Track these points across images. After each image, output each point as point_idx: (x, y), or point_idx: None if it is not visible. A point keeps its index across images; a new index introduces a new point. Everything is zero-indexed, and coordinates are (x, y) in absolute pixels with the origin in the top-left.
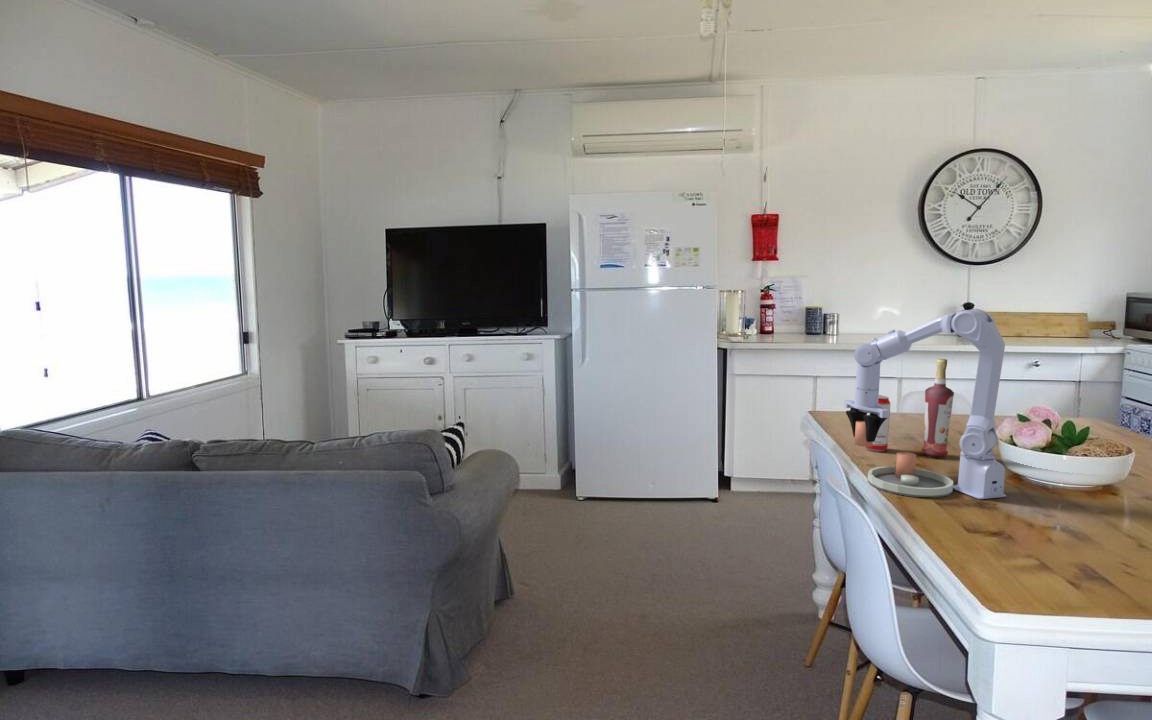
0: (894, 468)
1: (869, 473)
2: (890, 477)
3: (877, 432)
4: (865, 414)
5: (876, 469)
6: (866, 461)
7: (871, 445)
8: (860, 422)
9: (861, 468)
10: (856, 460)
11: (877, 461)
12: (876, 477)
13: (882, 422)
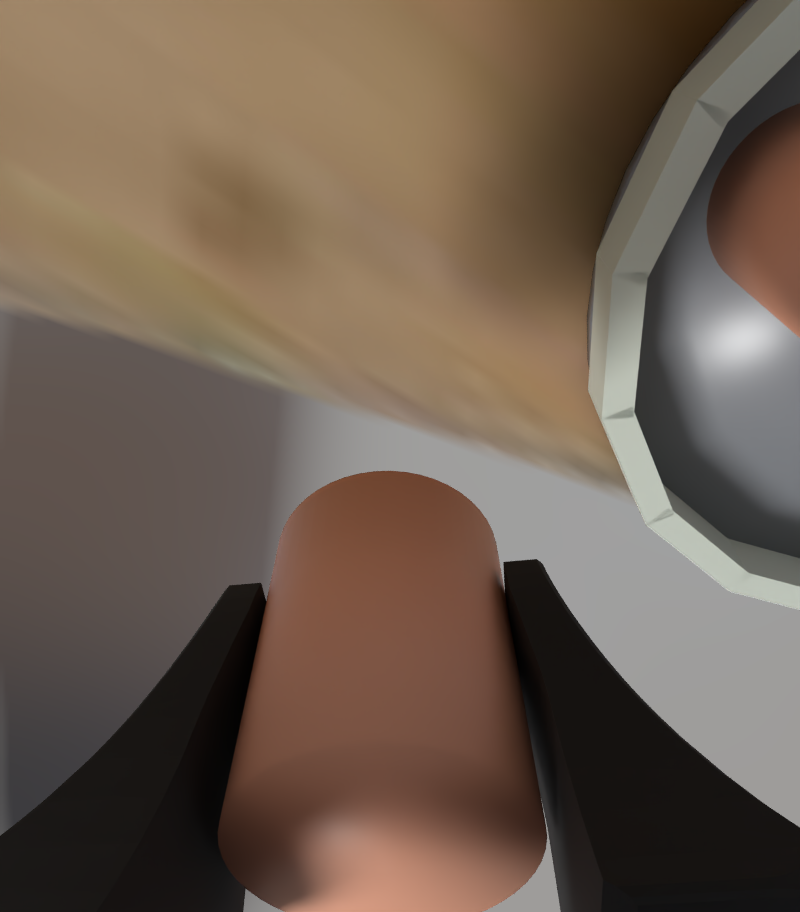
0: (663, 239)
1: (739, 583)
2: (748, 354)
3: (593, 646)
4: (136, 893)
5: (651, 459)
6: (80, 170)
7: (490, 531)
8: (379, 898)
9: (344, 380)
10: (44, 261)
11: (71, 21)
12: (695, 466)
13: (736, 794)
